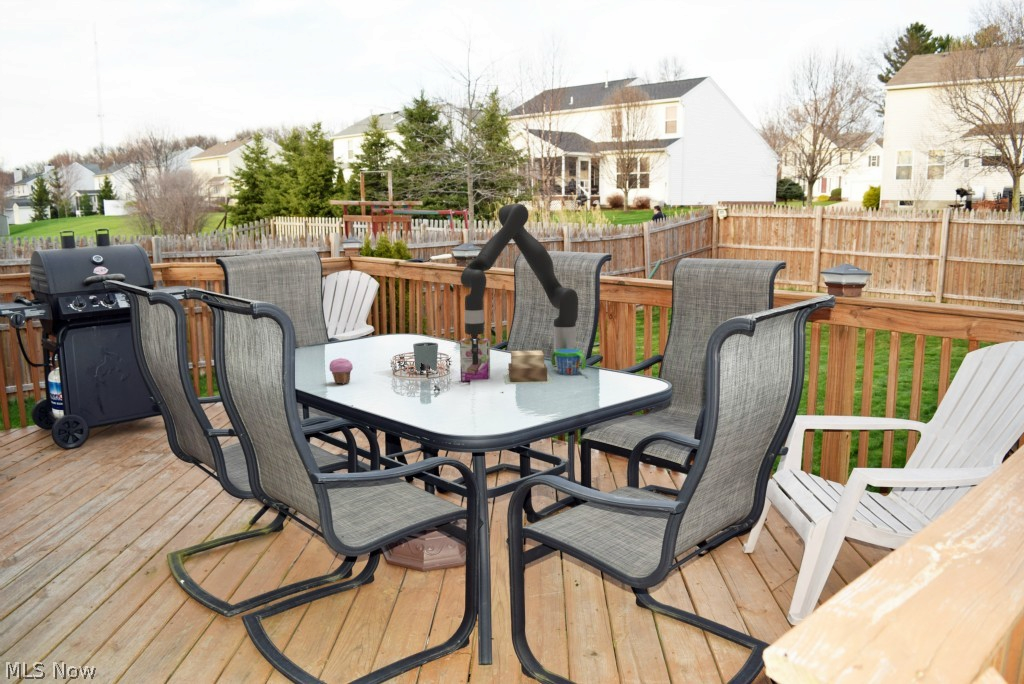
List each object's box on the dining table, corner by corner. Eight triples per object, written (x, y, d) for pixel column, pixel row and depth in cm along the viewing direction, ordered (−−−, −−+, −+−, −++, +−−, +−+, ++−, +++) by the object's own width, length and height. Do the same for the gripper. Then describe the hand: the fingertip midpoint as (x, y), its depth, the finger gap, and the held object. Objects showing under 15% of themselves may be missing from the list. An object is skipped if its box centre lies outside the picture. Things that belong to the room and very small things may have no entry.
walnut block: (544, 374, 308) (544, 362, 307) (547, 381, 296) (547, 368, 296) (508, 375, 307) (508, 363, 307) (510, 382, 296) (510, 369, 295)
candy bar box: (460, 382, 303) (459, 340, 300) (462, 379, 308) (461, 338, 305) (489, 382, 302) (488, 340, 299) (490, 379, 307) (489, 338, 304)
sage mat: (548, 376, 311) (548, 373, 311) (553, 385, 294) (553, 382, 293) (503, 377, 310) (503, 374, 310) (505, 387, 293) (505, 384, 292)
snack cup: (545, 374, 314) (544, 350, 312) (563, 371, 321) (562, 346, 319) (573, 380, 303) (573, 354, 301) (591, 376, 310) (591, 351, 308)
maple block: (541, 362, 306) (541, 350, 306) (544, 367, 296) (544, 354, 296) (511, 363, 306) (510, 351, 305) (512, 368, 296) (512, 355, 295)
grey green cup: (412, 375, 318) (411, 346, 316) (416, 370, 328) (415, 342, 326) (437, 374, 317) (436, 345, 315) (440, 370, 327) (439, 341, 325)
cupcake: (347, 386, 299) (346, 360, 297) (326, 385, 301) (325, 360, 299) (356, 381, 307) (355, 356, 306) (336, 380, 309) (334, 355, 308)
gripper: (484, 323, 294) (485, 366, 297) (483, 318, 308) (484, 359, 311) (464, 324, 294) (465, 366, 297) (464, 319, 308) (465, 359, 311)
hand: (475, 362), depth 304 cm, fingers open, 8 cm apart
